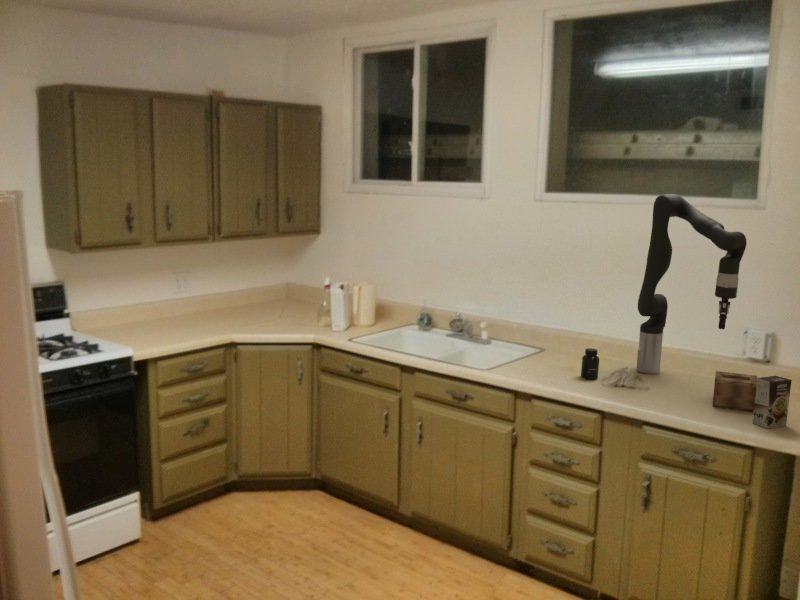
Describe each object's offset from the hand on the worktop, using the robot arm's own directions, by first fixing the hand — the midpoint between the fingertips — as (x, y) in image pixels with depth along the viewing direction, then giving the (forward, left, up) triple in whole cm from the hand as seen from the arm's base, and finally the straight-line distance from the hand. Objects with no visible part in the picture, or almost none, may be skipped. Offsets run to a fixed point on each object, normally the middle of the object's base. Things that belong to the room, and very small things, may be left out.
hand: (721, 326), depth 279 cm
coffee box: (+17, -32, -26) cm, 45 cm away
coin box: (+6, -14, -26) cm, 30 cm away
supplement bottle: (-48, -2, -26) cm, 54 cm away
